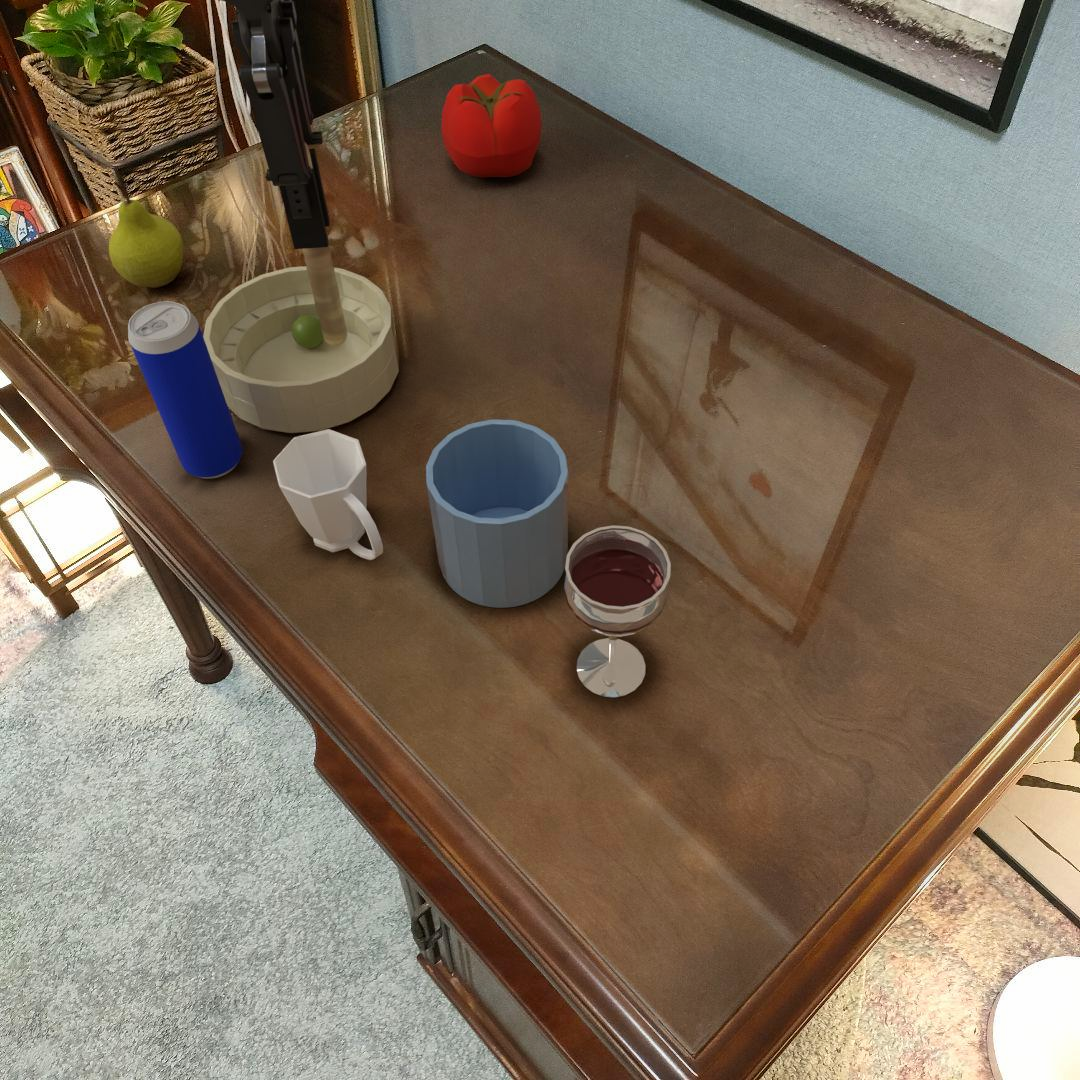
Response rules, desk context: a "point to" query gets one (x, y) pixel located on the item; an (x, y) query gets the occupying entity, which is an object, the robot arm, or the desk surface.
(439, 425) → the desk surface
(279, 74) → the robot arm
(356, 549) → the cup
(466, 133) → the tomato
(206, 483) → the desk surface
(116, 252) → the fruit
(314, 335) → the olive
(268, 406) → the bowl
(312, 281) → the stick
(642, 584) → the wineglass
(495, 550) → the utensil pot
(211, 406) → the beverage can
